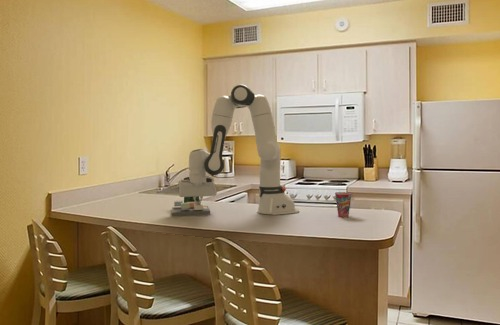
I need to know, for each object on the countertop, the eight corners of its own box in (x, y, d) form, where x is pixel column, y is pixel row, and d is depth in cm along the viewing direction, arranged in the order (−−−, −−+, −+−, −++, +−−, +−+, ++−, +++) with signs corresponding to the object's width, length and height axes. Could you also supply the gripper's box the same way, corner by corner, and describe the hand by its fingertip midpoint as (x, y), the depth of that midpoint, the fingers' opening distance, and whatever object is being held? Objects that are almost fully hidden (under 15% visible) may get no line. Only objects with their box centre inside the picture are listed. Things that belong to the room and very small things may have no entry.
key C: (195, 206, 251) (194, 201, 251) (195, 207, 246) (195, 202, 246) (187, 206, 250) (186, 202, 250) (187, 207, 246) (187, 203, 245)
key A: (202, 208, 243) (202, 203, 242) (202, 209, 238) (202, 205, 238) (194, 208, 242) (193, 204, 242) (194, 210, 237) (194, 205, 237)
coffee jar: (192, 209, 254) (191, 177, 252) (181, 208, 258) (180, 177, 257) (202, 207, 262) (201, 176, 261) (192, 206, 266) (191, 175, 265)
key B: (189, 207, 241) (189, 202, 241) (189, 208, 237) (189, 203, 237) (181, 207, 240) (180, 202, 240) (181, 208, 236) (181, 204, 236)
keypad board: (207, 209, 254) (207, 205, 254) (210, 214, 237) (210, 210, 237) (172, 210, 251) (172, 206, 251) (172, 216, 233) (172, 212, 233)
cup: (339, 218, 218) (339, 194, 217) (332, 215, 226) (331, 192, 226) (356, 217, 221) (356, 193, 220) (348, 214, 229) (348, 191, 228)
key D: (182, 204, 249) (182, 200, 249) (182, 206, 245) (182, 201, 245) (174, 205, 249) (174, 200, 249) (174, 206, 244) (174, 202, 244)
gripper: (178, 180, 234) (178, 206, 235) (216, 179, 238) (217, 204, 238) (177, 179, 240) (178, 204, 241) (215, 178, 244) (216, 202, 245)
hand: (198, 204), depth 240 cm, fingers closed, pressing on key A
